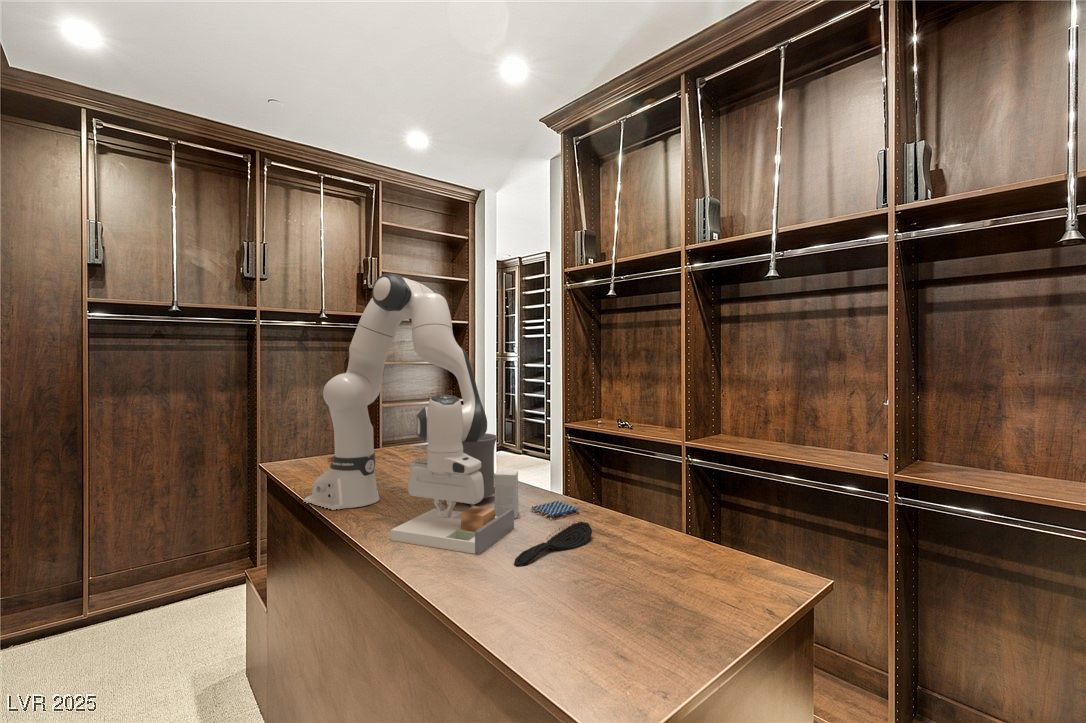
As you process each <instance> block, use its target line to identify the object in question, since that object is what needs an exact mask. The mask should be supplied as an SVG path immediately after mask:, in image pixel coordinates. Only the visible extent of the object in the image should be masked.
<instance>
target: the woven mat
mask: <svg viewBox="0 0 1086 723" xmlns="http://www.w3.org/2000/svg"><path fill="white" fill-rule="evenodd" d="M530 510H531V511H530V513H533V514H535V515H537V516H541V517H543V518H545V519H546V520H550V521H554V520H559V519H563V518H566V517H571V516H574V514H575V515H577V514H580V513H581V512H580V511H579V510H580V508H579V507H578V508H577V507H576V506H573V505H570V504H567V503H565V502H562V501H559V500H558V501H556V500H554V501H550V502H549V503H544V504H543V503H542V504H540V505H538V504H536V505H532V506H531V508H530Z"/></svg>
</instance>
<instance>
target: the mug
mask: <svg viewBox="0 0 1086 723" xmlns="http://www.w3.org/2000/svg"><path fill="white" fill-rule="evenodd" d="M497 439H498V436H497V435H496V434H493V433H492V434H491V433H487V432H486V433H485V434H484V435H483V437H482V438H480V439H479V440H478V441H477V442H463V441H462V445H463V453H465V454H467V455H469V456H471V457H473V458H475V459H478V460H480V461H481V468H480V469H479V471H480V472H481V474H482V476H483V483H484V497H483V499H485V498H489V497H492V496H493V495H495V486H494V474H495V445H496V441H497ZM475 505H476V504H470V508H471V507H473V506H475Z"/></svg>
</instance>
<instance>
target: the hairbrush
mask: <svg viewBox="0 0 1086 723" xmlns="http://www.w3.org/2000/svg"><path fill="white" fill-rule="evenodd" d="M578 520H579V521H578V522H574V523H572V524H571V525H570V522H568V523H567V524H568V526H567V524H566V528H565V527H563V528H562V527H561V530H560V527H559V528H558V529H557V530H554V532H553V533H551V534H549V535H548V536H547V537H546V540H547V541H546V542H541V543H538V544H536V545H534V546H532V547H530V548H528V549H525V550H524V551H521V553H519V555H517V556H516V558H515V559H514V561H513V562H514V563H513V565H514V567H516V568H517V567H518V568H519V567H522V568H523V567H525V566H528V564H531V562H533V561H534V560H535V559H536V558H537V557H538V556H539V554H541V553H543V552H544V551H546V550H548V549H552V550H555V551H563V552H564V551H570V550H574V549H578V548H581V547H583V545H584V546H586V545H588V543H589V542H590V540H591V537H592V534H593V530H592V528H591V526H590V524H589V521H587V520H586V519H583V521H582V520H581V518H579V519H578ZM558 530H559V531H558ZM557 531H558V532H557ZM554 533H556V534H554ZM552 535H553V536H552Z"/></svg>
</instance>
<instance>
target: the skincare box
mask: <svg viewBox="0 0 1086 723" xmlns="http://www.w3.org/2000/svg"><path fill="white" fill-rule="evenodd" d="M494 487H495V494H494V509H495V516H497V517H498V516H500V515H501V514H503V513H504V512H506V511H507V510H509V509H510V508H511V509H514V520H515V519H517V518H518V517H519V509H520V507H519V506H520V505H519V472H518V471H515V470H512V471H511V470H510V471H505V470H504V471H502V470H500V471H499V470H497V471H496V472H494Z"/></svg>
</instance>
